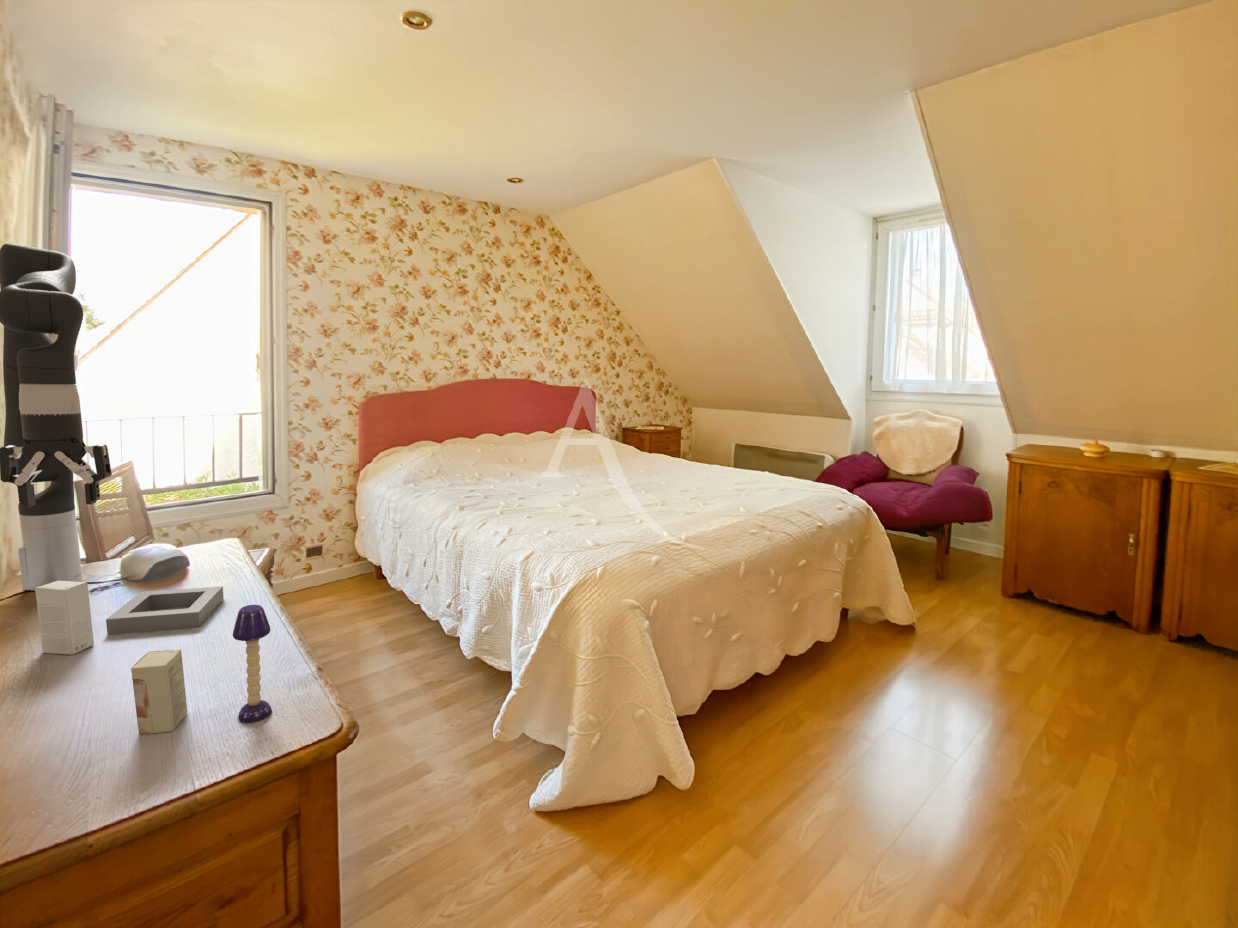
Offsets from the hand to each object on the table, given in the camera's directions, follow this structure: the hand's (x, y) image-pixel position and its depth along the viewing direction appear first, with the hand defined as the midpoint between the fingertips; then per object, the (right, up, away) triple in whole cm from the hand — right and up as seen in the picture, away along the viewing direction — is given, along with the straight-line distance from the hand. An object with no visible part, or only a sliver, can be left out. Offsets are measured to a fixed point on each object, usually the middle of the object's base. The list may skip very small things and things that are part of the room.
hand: (60, 505), depth 105 cm
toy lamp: (+43, -30, -16) cm, 55 cm away
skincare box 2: (+31, -30, -18) cm, 47 cm away
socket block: (+5, -24, +19) cm, 31 cm away
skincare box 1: (-2, -26, +3) cm, 26 cm away
